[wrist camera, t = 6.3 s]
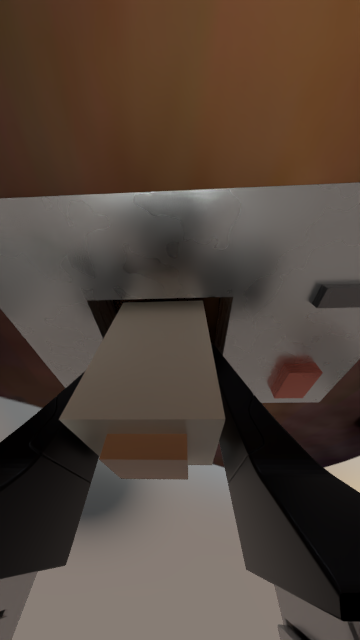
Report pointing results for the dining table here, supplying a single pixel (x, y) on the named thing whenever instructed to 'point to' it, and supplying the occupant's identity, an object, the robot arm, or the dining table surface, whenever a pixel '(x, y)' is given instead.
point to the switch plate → (194, 275)
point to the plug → (151, 393)
